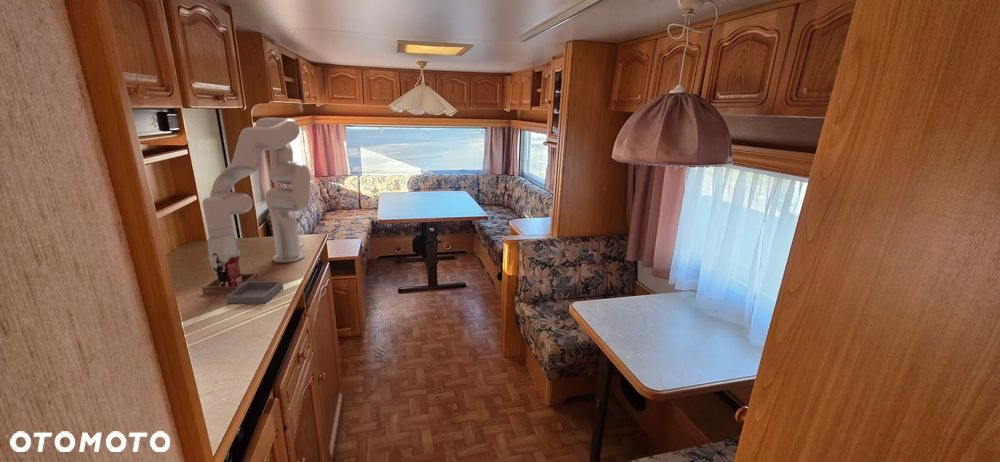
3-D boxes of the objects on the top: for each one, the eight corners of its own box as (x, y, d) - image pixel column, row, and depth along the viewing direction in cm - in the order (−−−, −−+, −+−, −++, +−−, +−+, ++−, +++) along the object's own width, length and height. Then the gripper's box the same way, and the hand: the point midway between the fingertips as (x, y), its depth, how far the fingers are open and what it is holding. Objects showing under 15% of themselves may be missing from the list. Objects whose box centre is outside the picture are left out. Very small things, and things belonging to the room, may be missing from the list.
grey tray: (248, 288, 149) (247, 281, 148) (283, 288, 149) (282, 281, 148) (227, 304, 137) (226, 296, 136) (265, 304, 137) (263, 296, 136)
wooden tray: (225, 279, 156) (224, 273, 156) (258, 279, 157) (257, 273, 156) (203, 293, 144) (201, 287, 144) (239, 294, 145) (237, 287, 144)
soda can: (246, 283, 153) (241, 253, 150) (233, 290, 147) (227, 260, 143) (230, 281, 154) (224, 252, 151) (216, 289, 148) (210, 259, 144)
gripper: (225, 224, 152) (233, 269, 157) (193, 238, 136) (203, 287, 141) (245, 224, 152) (253, 269, 157) (215, 238, 136) (225, 287, 141)
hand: (229, 277), depth 149 cm, fingers closed on soda can, 6 cm apart
